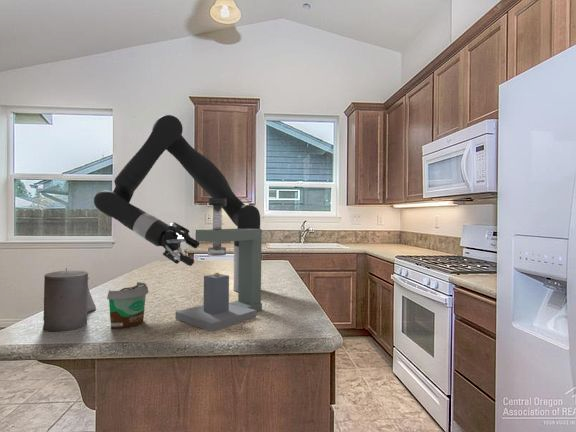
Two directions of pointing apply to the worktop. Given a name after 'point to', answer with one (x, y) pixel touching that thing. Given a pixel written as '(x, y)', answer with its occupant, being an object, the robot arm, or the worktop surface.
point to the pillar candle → (65, 300)
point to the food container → (127, 306)
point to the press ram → (217, 225)
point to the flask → (90, 302)
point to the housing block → (216, 293)
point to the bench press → (247, 281)
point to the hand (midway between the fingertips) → (195, 255)
